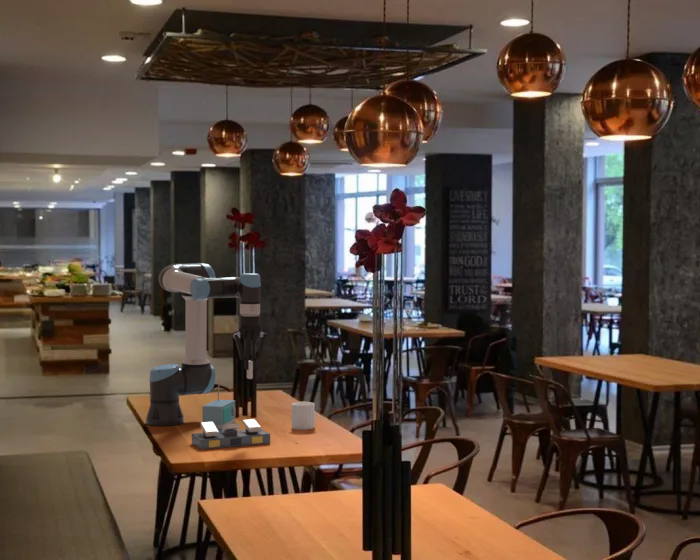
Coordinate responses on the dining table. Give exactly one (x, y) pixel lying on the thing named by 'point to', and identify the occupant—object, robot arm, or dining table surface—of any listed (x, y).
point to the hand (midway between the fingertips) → (249, 378)
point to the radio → (219, 412)
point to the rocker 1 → (209, 429)
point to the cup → (303, 415)
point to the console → (230, 439)
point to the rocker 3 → (251, 425)
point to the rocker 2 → (231, 426)
